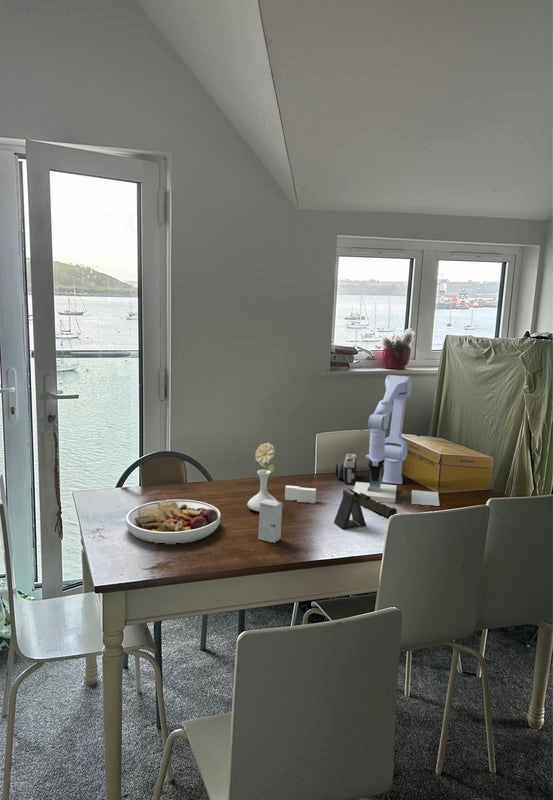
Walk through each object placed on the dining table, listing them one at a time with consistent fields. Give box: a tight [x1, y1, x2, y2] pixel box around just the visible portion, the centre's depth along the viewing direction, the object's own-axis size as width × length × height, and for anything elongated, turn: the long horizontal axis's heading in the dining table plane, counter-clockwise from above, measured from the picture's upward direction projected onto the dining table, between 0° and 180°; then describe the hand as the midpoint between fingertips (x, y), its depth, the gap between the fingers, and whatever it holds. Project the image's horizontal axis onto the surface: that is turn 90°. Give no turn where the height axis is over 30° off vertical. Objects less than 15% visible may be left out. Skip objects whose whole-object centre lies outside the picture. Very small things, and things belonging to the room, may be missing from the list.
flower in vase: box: [246, 442, 278, 512], centre depth 214 cm, size 13×11×25 cm
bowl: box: [125, 499, 221, 545], centre depth 197 cm, size 30×30×8 cm
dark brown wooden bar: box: [359, 493, 398, 519], centre depth 217 cm, size 19×4×5 cm, turn 31°
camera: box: [335, 453, 357, 485], centre depth 253 cm, size 14×9×10 cm, turn 162°
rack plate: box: [352, 481, 398, 503], centre depth 235 cm, size 16×16×2 cm
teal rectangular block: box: [369, 470, 382, 489], centre depth 234 cm, size 4×4×7 cm
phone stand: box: [333, 487, 367, 530], centre depth 203 cm, size 9×6×12 cm, turn 112°
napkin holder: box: [284, 485, 317, 504], centre depth 227 cm, size 15×11×6 cm
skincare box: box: [257, 499, 283, 544], centre depth 189 cm, size 6×4×12 cm
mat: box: [411, 489, 440, 506], centre depth 231 cm, size 16×10×1 cm, turn 167°
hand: (375, 479), depth 234 cm, fingers closed on teal rectangular block, 4 cm apart
